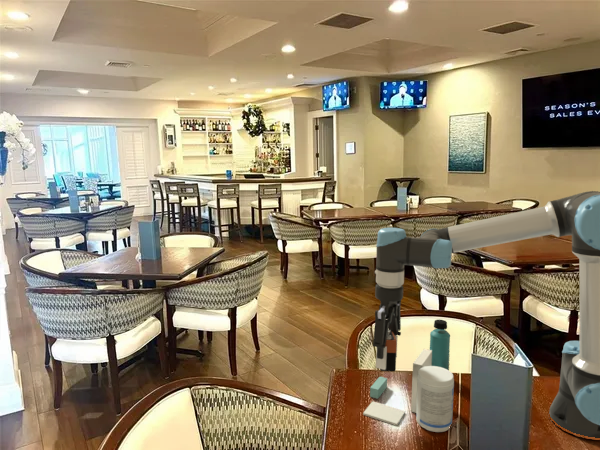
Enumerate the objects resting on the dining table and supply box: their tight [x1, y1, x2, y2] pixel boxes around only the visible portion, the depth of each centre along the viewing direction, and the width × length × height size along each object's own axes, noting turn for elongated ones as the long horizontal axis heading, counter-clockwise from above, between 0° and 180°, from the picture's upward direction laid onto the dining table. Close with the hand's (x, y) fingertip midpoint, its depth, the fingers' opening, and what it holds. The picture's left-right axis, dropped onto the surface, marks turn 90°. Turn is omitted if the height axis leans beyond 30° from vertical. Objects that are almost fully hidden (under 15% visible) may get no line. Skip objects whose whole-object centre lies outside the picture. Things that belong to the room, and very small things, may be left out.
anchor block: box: [369, 376, 388, 400], centre depth 139 cm, size 2×8×3 cm, turn 149°
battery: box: [379, 328, 398, 372], centre depth 126 cm, size 4×7×10 cm, turn 177°
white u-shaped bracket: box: [410, 348, 432, 414], centre depth 132 cm, size 2×11×15 cm, turn 149°
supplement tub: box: [415, 366, 455, 433], centre depth 122 cm, size 10×10×15 cm
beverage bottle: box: [429, 319, 451, 371], centre depth 146 cm, size 6×7×20 cm
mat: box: [362, 400, 406, 427], centre depth 128 cm, size 10×7×1 cm
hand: (386, 362), depth 126 cm, fingers closed on battery, 8 cm apart
